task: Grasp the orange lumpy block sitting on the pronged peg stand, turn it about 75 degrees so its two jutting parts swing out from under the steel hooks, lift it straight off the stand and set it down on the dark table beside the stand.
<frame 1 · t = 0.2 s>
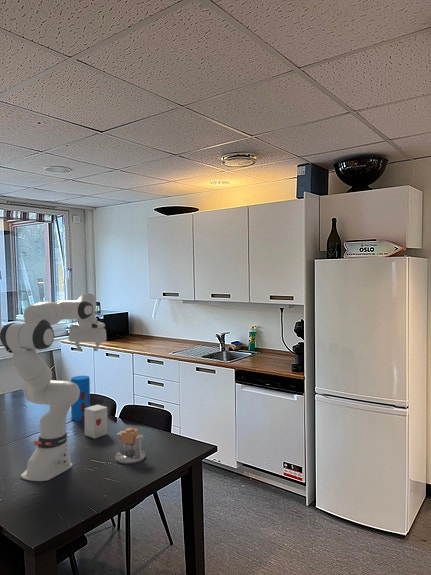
hand: (87, 350, 223), 48 cm above the table, fingers open, 8 cm apart
orange lumpy block: (130, 441, 202), point 8 cm above the table, touching pronged peg stand
supplement box: (96, 435, 233), on the table
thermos: (80, 418, 260), on the table
pronged peg stand: (130, 457, 202), on the table
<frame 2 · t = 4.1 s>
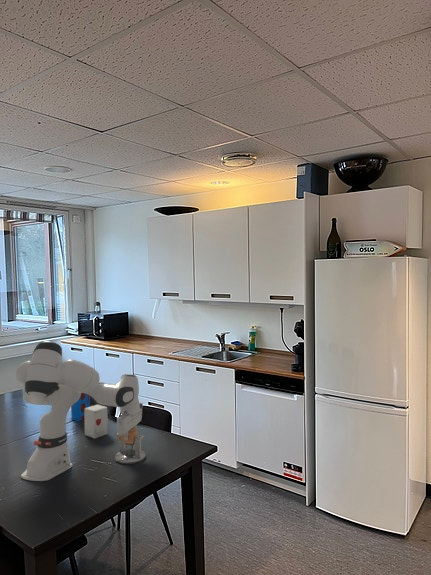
hand: (129, 437, 202), 10 cm above the table, fingers closed on orange lumpy block, 6 cm apart
orange lumpy block: (129, 441, 202), point 8 cm above the table, touching pronged peg stand, gripper
everything else where it was.
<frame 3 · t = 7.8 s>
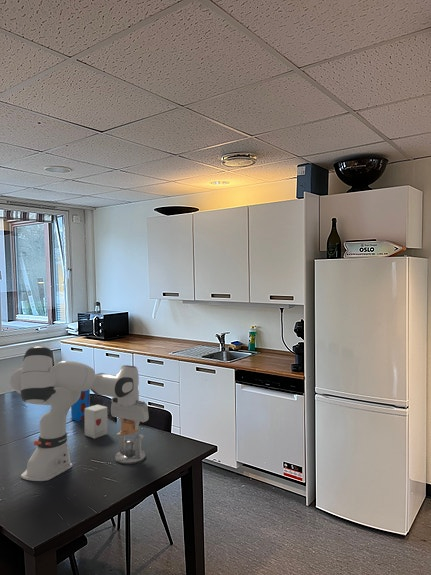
hand: (129, 428, 202), 14 cm above the table, fingers closed on orange lumpy block, 6 cm apart
orange lumpy block: (129, 432, 202), point 12 cm above the table, touching gripper
everything else where it was.
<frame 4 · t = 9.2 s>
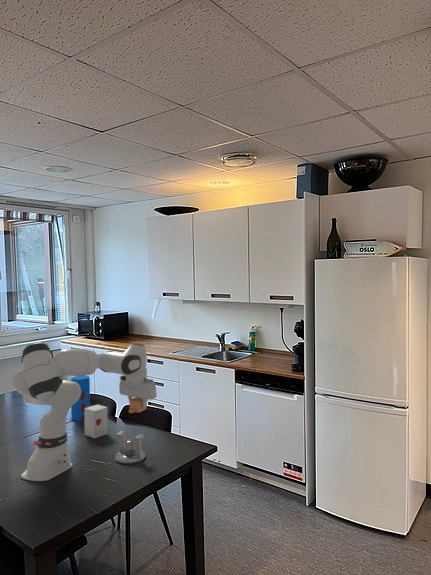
hand: (138, 406, 203), 24 cm above the table, fingers closed on orange lumpy block, 6 cm apart
orange lumpy block: (138, 409, 203), point 22 cm above the table, touching gripper
everything else where it was.
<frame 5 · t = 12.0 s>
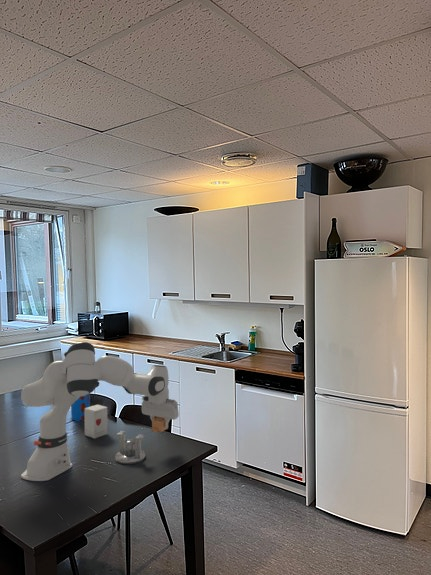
hand: (160, 425, 210), 13 cm above the table, fingers closed on orange lumpy block, 6 cm apart
orange lumpy block: (160, 429, 210), point 11 cm above the table, touching gripper
everything else where it was.
when the fingers open (4 cm above the table, at t = 14.3 s): orange lumpy block drops 2 cm, on the table.
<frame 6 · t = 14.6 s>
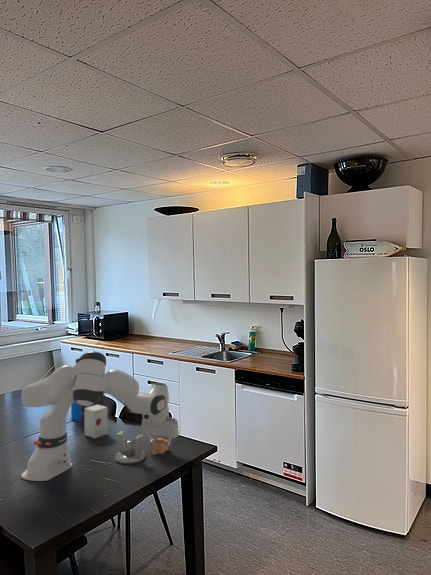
hand: (160, 443, 210), 4 cm above the table, fingers open, 8 cm apart
orange lumpy block: (160, 450, 210), on the table
everything else where it was.
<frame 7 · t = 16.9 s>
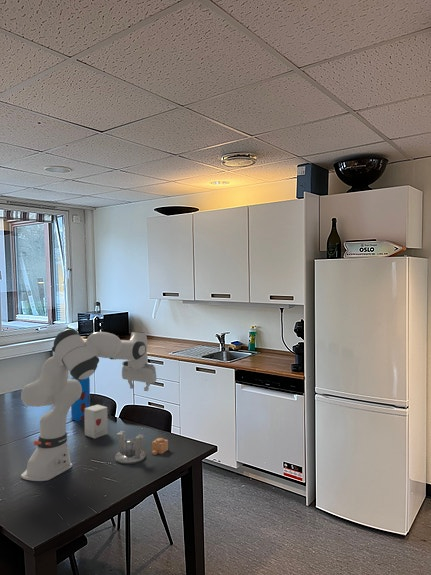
hand: (139, 389, 220), 28 cm above the table, fingers open, 8 cm apart
nothing on the table moved.
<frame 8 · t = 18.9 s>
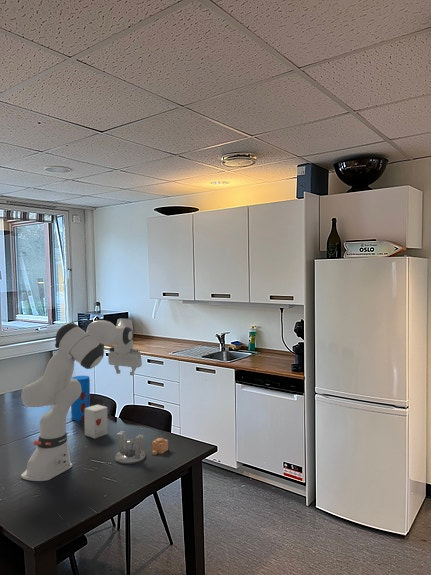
hand: (125, 374, 227), 34 cm above the table, fingers open, 8 cm apart
nothing on the table moved.
at the end: orange lumpy block inside the target area (0.1 cm from its centre), on the table; orange lumpy block tilted 0°; the gripper is holding nothing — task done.
